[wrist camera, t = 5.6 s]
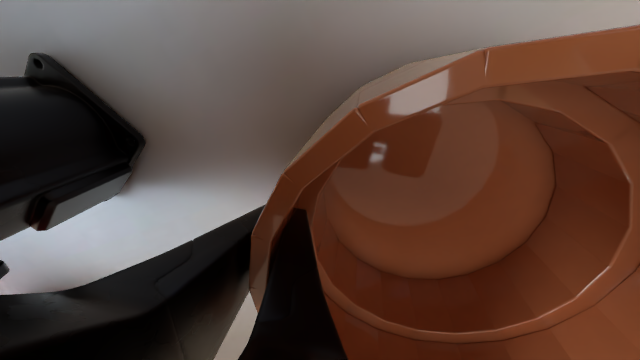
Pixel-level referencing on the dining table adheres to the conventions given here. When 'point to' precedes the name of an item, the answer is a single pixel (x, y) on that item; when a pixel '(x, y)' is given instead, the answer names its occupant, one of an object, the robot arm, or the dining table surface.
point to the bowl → (478, 205)
